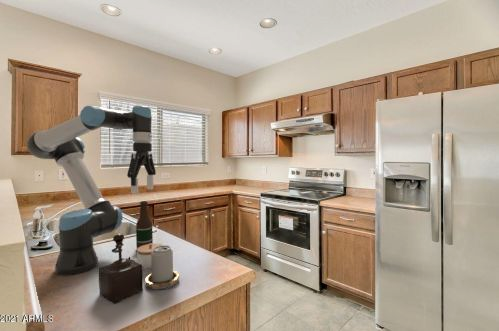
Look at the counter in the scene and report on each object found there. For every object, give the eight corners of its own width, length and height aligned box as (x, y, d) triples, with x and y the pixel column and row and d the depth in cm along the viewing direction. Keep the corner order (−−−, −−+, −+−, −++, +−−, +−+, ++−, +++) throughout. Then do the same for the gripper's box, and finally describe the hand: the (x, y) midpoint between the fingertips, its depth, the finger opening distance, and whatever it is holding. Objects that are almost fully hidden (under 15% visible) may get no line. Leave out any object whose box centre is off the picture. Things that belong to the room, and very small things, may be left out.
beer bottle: (147, 245, 137) (146, 199, 136) (156, 248, 133) (155, 201, 132) (133, 249, 131) (132, 201, 130) (141, 252, 126) (141, 203, 125)
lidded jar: (168, 265, 112) (168, 243, 112) (144, 273, 104) (143, 250, 104) (156, 258, 119) (156, 238, 119) (132, 265, 112) (132, 244, 111)
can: (177, 278, 98) (176, 246, 97) (159, 286, 92) (159, 252, 91) (165, 273, 102) (164, 242, 102) (147, 280, 96) (147, 248, 96)
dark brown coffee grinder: (145, 290, 92) (144, 239, 91) (113, 304, 83) (112, 248, 82) (122, 277, 101) (121, 231, 100) (91, 289, 92) (90, 239, 91)
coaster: (139, 289, 92) (139, 284, 92) (154, 274, 103) (154, 269, 103) (172, 290, 91) (171, 285, 91) (182, 275, 103) (182, 270, 102)
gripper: (135, 141, 101) (136, 195, 102) (162, 143, 126) (163, 187, 126) (117, 141, 101) (117, 195, 102) (147, 143, 126) (148, 187, 127)
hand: (142, 191), depth 114 cm, fingers open, 13 cm apart
